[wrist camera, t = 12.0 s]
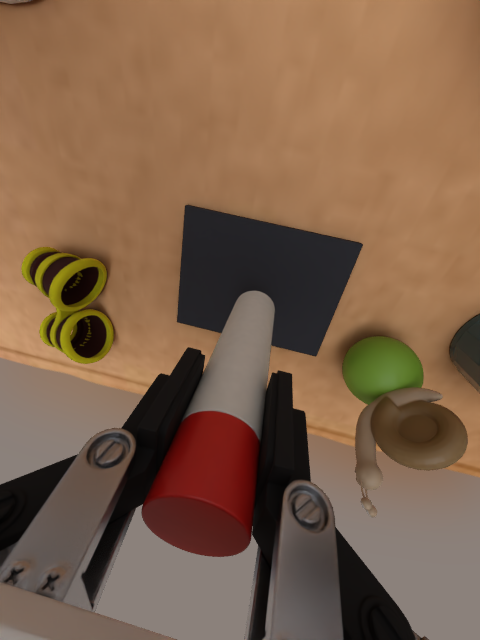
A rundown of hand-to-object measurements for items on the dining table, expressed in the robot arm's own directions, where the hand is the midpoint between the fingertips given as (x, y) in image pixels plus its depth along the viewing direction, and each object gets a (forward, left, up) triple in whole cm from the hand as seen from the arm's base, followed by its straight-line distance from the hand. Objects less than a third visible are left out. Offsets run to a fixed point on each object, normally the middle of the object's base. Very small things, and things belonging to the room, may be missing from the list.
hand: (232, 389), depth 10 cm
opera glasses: (-16, -5, -12) cm, 20 cm away
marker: (0, 0, -8) cm, 8 cm away
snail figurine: (+10, -4, -12) cm, 16 cm away
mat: (0, 0, -12) cm, 12 cm away
